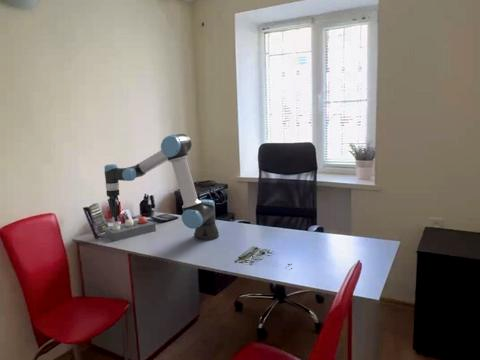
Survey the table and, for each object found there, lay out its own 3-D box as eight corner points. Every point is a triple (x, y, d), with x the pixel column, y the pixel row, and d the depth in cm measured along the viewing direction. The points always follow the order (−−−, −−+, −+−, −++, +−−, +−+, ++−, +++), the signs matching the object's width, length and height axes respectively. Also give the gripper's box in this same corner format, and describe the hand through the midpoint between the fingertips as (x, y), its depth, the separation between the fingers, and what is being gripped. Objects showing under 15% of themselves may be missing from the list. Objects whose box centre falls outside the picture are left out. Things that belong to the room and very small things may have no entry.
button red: (147, 224, 248) (147, 217, 247) (140, 225, 245) (140, 219, 244) (144, 222, 252) (143, 216, 251) (137, 224, 248) (136, 217, 248)
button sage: (122, 233, 236) (121, 226, 236) (114, 235, 233) (113, 228, 232) (118, 231, 240) (118, 224, 239) (111, 233, 237) (110, 226, 236)
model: (290, 272, 177) (290, 269, 177) (234, 262, 191) (234, 259, 190) (304, 256, 196) (304, 253, 195) (252, 249, 209) (252, 246, 209)
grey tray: (155, 230, 246) (155, 223, 245) (114, 241, 228) (113, 233, 227) (144, 226, 258) (143, 218, 257) (104, 235, 240) (103, 228, 239)
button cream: (135, 227, 242) (134, 220, 241) (127, 228, 239) (127, 222, 238) (131, 225, 246) (131, 219, 245) (124, 227, 242) (123, 220, 242)
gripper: (123, 189, 229) (126, 227, 234) (114, 187, 239) (117, 222, 243) (111, 191, 225) (114, 229, 229) (102, 188, 234) (105, 225, 238)
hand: (115, 226), depth 236 cm, fingers closed
